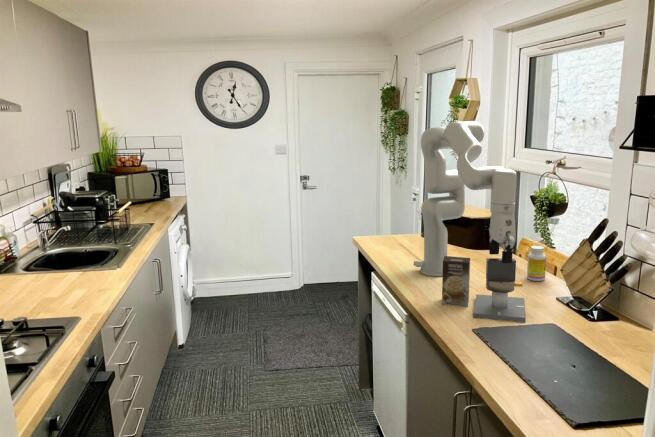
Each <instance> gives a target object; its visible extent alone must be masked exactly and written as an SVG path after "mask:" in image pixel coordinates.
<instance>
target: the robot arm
mask: <svg viewBox="0 0 655 437" xmlns="http://www.w3.org/2000/svg"><path fill="white" fill-rule="evenodd" d="M484 138H485V130H484V126H483V125H482V123H480V122H478V121H475V120H469V121H468V120H467V121H465V120H463V121H455V122H451V123H449V124H447V125H446V126H437V127H436V126H435V127H430V128H427V129H426V130H424V131H423V132H422V134H421V137H420V149H421V152H422V155H423V156H422V157H423V163H424V165H423V167H424V169H423V170H424V188H425V190H426V193H429V194H430V195H439V194H448V195H447V196H446V195H445V196H435V197H430V198H427V199H424V201H423V202H422V204H421V215H422V219H423V220H422V221H423V260H421V261H418V260H413V266H415V267H416V268H419V269H420V270H419V272H420V274H422V275H424V276H428V277H443V259H444V257H445V256H448V237H449V236H448V235H449V234H448V228H447V227H446V226H445V224H444V222H443V221H447V220H454V219H459V218H462V217H463V215H464V213H465V208H466V207H465V204H466V203H465V198H466V197H465V194H466V193H465V192H466V191H465V187H466V188H468V189H469V190H472V191H481V190H483V191H484V190H491V191H490V192H491V193H490V213H491V214H490V223H489V227H488V232H489V235H488V236H489V253H488V254H489V255H493V256H494V255H499V254H500V245H502V246H501V247H502V249H503V250H502V252H501V254H502V255H501V258H502V263H512V258H513V252H514V248H515V243H516V232H517V231H516V216H515V212H516V197H517V196H516V195H517V172H516V171H515V170H514V169H509V168H508V169H506V167H503V166H500V165H490V166H478V167H474V166H473V165H472V164H471V163H473V162H474V161H476V160H477V159H478V158H479V157H480V155H481V154H482V151H483V150H482V149H483V147H482V145H481V142H483V140H484ZM445 149H446V150H449V149H452V150H453V152H454V153H455V154H456V155H457V157H458V158H457V160H456V161H457V162H456V169H453V168H451V169H450V168H449V169H447V164H446V163H447V159H446V157H445V155H444V153H443V152H442V151H441V150H445Z"/></svg>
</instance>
